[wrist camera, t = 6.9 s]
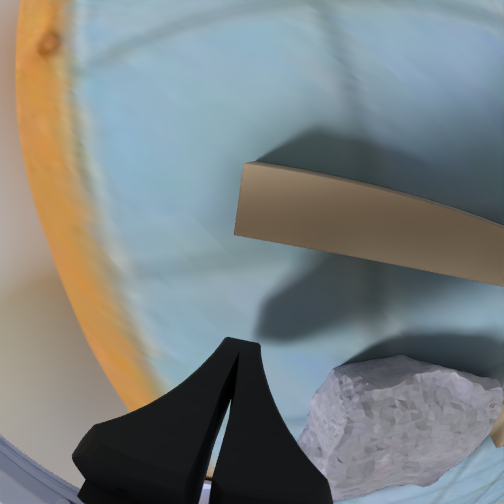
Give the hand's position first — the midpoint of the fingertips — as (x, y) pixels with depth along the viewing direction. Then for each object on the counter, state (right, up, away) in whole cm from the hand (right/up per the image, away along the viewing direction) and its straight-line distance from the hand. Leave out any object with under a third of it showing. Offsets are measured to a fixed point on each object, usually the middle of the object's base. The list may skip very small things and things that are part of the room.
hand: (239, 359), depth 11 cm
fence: (+10, -1, 0) cm, 10 cm away
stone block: (+9, -5, +3) cm, 11 cm away
